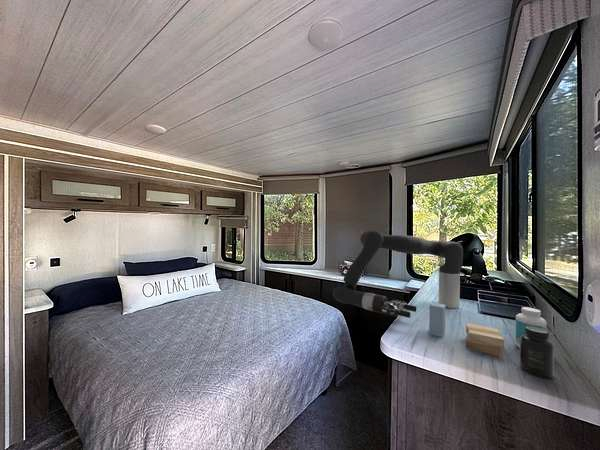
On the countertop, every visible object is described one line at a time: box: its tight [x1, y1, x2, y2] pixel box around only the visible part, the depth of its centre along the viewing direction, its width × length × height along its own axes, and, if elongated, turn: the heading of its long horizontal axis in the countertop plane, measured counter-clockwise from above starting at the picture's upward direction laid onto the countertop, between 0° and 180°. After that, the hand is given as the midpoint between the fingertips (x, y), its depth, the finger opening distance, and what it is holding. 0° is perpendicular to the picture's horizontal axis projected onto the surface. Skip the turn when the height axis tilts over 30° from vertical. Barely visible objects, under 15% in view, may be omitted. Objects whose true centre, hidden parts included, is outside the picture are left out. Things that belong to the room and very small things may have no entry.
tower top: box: [465, 322, 505, 350], centre depth 80 cm, size 9×9×3 cm
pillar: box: [428, 301, 447, 339], centre depth 89 cm, size 4×4×11 cm
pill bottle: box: [514, 306, 548, 349], centre depth 79 cm, size 8×7×14 cm
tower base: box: [465, 335, 502, 358], centre depth 80 cm, size 9×9×3 cm
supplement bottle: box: [519, 326, 555, 379], centre depth 67 cm, size 7×7×12 cm
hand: (413, 312), depth 95 cm, fingers open, 8 cm apart
